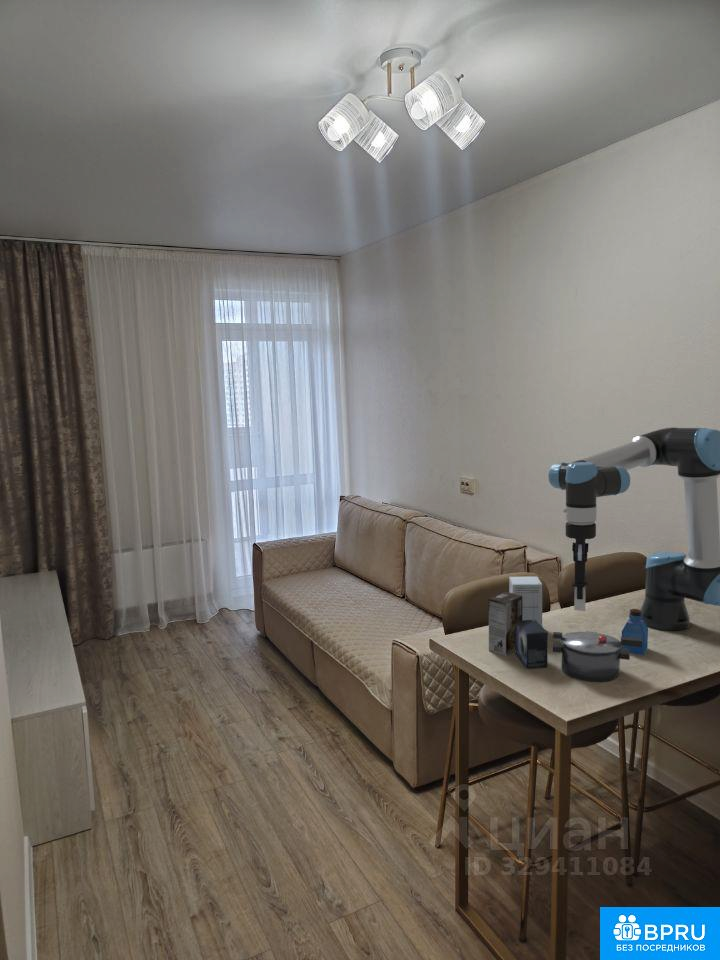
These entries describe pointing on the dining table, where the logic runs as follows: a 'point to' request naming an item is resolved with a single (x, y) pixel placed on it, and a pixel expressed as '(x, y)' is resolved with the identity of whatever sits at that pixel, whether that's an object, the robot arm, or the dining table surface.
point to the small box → (531, 644)
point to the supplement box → (528, 596)
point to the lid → (595, 642)
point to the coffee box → (503, 622)
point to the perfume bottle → (636, 632)
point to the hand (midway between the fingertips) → (579, 609)
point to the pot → (590, 664)
